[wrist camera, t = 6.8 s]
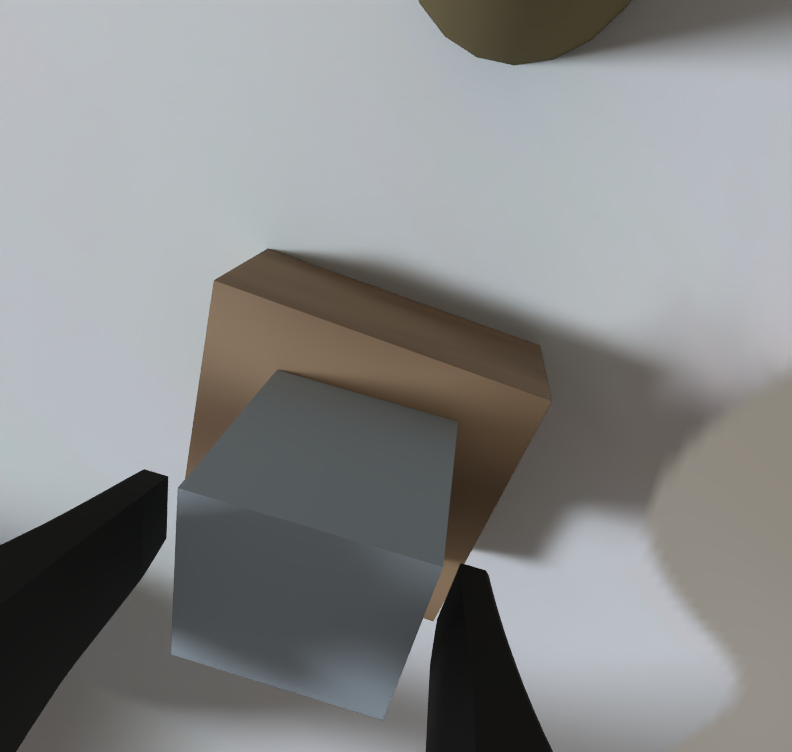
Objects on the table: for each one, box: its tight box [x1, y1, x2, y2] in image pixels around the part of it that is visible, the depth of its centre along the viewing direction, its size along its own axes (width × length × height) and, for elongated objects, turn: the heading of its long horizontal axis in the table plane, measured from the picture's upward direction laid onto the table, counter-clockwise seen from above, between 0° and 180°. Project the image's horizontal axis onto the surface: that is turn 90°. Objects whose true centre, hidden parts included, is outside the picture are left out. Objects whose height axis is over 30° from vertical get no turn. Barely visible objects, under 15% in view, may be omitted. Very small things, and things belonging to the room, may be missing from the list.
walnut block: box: [185, 249, 552, 621], centre depth 17 cm, size 9×9×4 cm
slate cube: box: [171, 370, 458, 720], centre depth 13 cm, size 5×5×5 cm
